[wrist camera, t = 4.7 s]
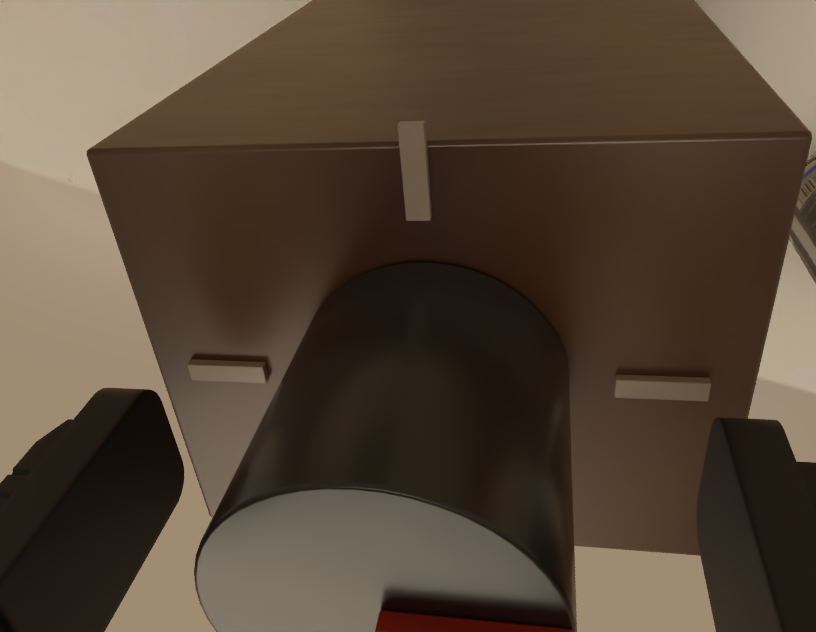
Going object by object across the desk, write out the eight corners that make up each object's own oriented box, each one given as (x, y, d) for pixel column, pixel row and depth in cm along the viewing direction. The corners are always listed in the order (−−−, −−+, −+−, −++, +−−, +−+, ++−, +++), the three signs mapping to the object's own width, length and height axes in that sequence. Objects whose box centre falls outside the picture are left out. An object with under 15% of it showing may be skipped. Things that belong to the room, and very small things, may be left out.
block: (380, 187, 30) (209, 534, 15) (355, -40, 25) (70, 134, 10) (629, 184, 28) (716, 576, 13) (651, -61, 23) (825, 112, 8)
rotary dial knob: (324, 466, 13) (229, 726, 9) (282, 260, 11) (131, 493, 7) (563, 480, 13) (570, 773, 9) (575, 262, 10) (589, 526, 6)
